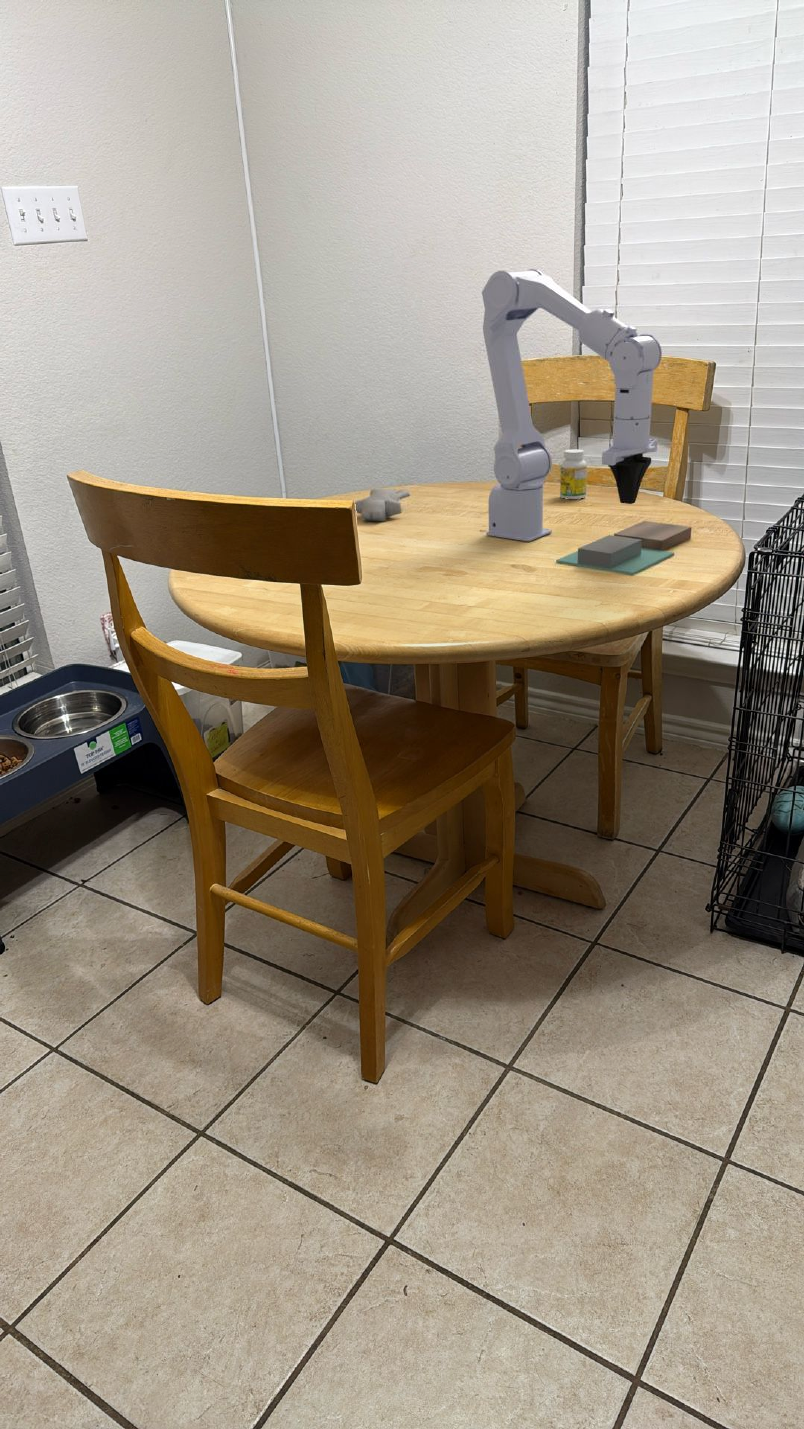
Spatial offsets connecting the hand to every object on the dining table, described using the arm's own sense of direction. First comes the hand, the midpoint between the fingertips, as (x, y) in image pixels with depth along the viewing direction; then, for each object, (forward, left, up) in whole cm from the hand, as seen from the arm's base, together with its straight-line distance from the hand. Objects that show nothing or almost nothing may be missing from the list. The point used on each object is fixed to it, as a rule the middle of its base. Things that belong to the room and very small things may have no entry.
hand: (627, 502), depth 160 cm
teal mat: (+1, -4, -8) cm, 9 cm away
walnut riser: (+1, +9, -8) cm, 12 cm away
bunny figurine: (-55, +1, -9) cm, 56 cm away
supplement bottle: (-30, +33, -9) cm, 46 cm away
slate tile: (+1, -6, -8) cm, 10 cm away
